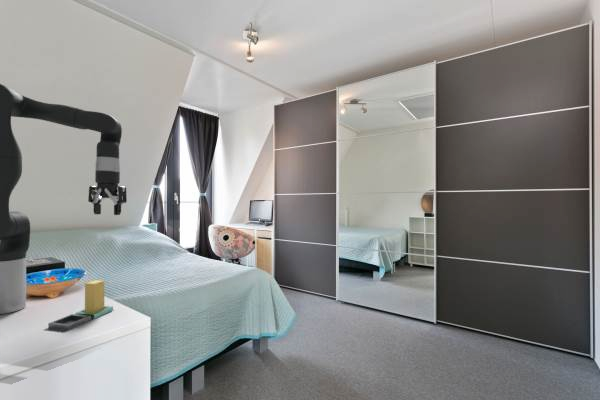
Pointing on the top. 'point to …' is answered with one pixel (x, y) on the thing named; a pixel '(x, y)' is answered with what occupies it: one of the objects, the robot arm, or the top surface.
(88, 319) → the base
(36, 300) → the top surface
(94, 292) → the peg
